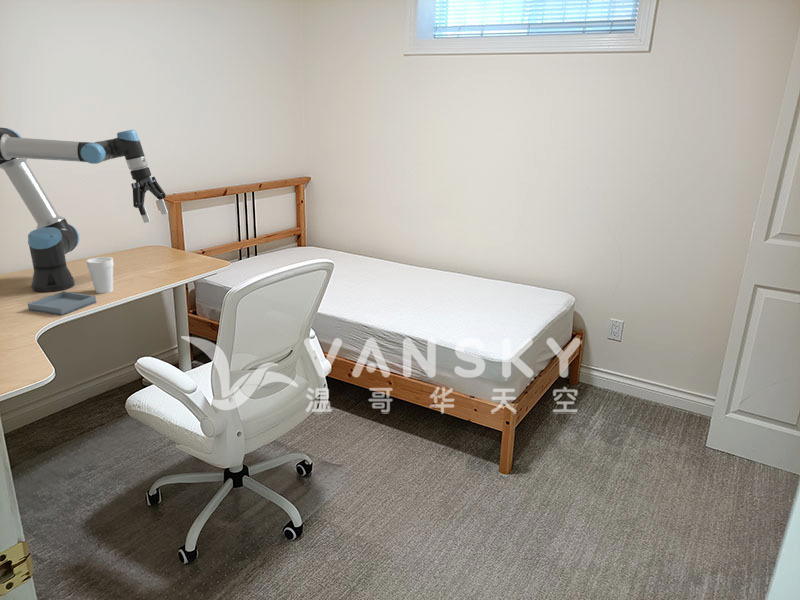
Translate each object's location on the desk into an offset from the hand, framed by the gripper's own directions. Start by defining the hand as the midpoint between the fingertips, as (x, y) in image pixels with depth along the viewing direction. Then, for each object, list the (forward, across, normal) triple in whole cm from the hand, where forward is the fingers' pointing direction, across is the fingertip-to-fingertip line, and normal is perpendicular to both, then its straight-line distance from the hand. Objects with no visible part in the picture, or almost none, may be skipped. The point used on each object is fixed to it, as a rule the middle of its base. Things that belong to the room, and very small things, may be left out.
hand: (156, 218), depth 249 cm
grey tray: (+19, -47, +17) cm, 54 cm away
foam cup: (+21, -27, +15) cm, 38 cm away
